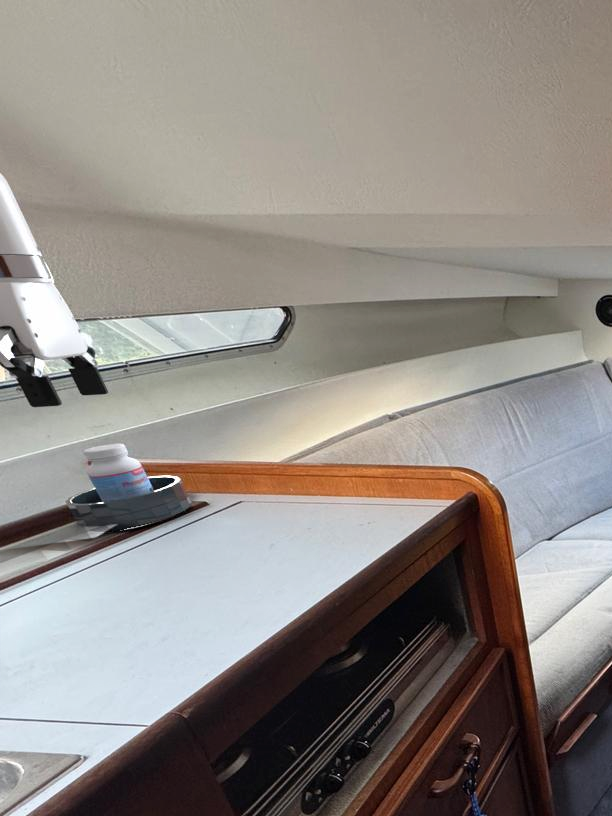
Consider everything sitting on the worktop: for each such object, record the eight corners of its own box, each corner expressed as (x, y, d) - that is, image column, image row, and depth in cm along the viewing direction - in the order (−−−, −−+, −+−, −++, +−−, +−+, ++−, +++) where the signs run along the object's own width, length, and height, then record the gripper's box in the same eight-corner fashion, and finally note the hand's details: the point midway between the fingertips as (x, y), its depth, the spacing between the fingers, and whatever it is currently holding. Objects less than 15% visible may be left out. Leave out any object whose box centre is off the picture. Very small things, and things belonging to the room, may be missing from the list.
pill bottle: (150, 519, 89) (114, 450, 84) (103, 524, 87) (64, 455, 83) (172, 505, 94) (139, 440, 89) (128, 510, 93) (92, 444, 88)
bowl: (60, 541, 84) (41, 510, 82) (117, 510, 95) (102, 482, 93) (166, 527, 87) (150, 497, 85) (208, 498, 98) (196, 471, 96)
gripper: (24, 273, 82) (82, 392, 89) (-91, 270, 67) (-10, 413, 74) (87, 272, 84) (139, 389, 91) (-11, 269, 69) (61, 409, 76)
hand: (72, 400), depth 83 cm, fingers open, 9 cm apart
